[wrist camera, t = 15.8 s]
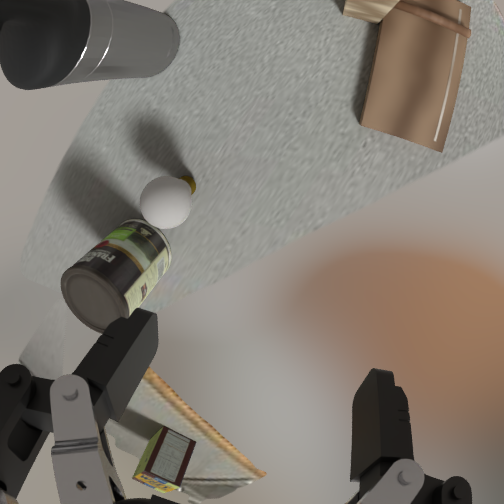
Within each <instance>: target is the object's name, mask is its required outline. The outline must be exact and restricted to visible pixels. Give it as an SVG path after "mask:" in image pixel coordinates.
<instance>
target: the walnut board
mask: <svg viewBox="0 0 504 504" xmlns="http://www.w3.org/2000/svg"><path fill="white" fill-rule="evenodd" d="M402 1H404V2H407V3H410V4H413V5H416V6H418V7H421V8H423V9H426V10H428V11H431V12H433V13H436V14H438V15H440V16H443V17H445V18H447V19H450V20H452V21H454V22H456V23H458V24H460V25H462V26H465V27H467V28H469V22H470V13H471V7H470V6H468V5H466V4H464V3H461V2H459V1H457V0H402ZM466 44H467V37H464V36H462V35H460V34H458V33H456V32H454V31H452V30H449V29H447V28H445V27H443V26H440V25H438V24H436V23H433V22H431V21H428V20H426V19H423V18H421V17H418V16H415V15H413V14H410V13H407V12H404V11H401V10H399V9H396V8H392V9H391V10H390V11H389V12H388V13H387V14H386V16H385V17H384V18H383V19H382V20H381V21H380V25H379V31H378V37H377V42H376V47H375V53H374V58H373V63H372V68H371V72H370V77H369V82H368V87H367V91H366V96H365V100H364V105H363V109H362V113H361V118H360V122H359V124H360V125H361V126H364V127H368V128H371V129H374V130H378V131H381V132H384V133H387V134H390V135H393V136H397V137H400V138H403V139H406V140H408V141H411V142H414V143H417V144H420V145H423V146H425V147H428V148H431V149H433V150H436V151H439V152H441V153H442V151H443V148H444V144H445V141H446V137H447V133H448V130H449V126H450V122H451V118H452V114H453V110H454V106H455V102H456V97H457V93H458V88H459V83H460V78H461V73H462V68H463V63H464V57H465V51H466Z"/></svg>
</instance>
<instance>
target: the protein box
mask: <svg viewBox="0 0 504 504" xmlns="http://www.w3.org/2000/svg"><path fill="white" fill-rule="evenodd" d="M195 444H196V442H195V441H193V440H191V439H189V438H187V437H185V436H183V435H181V434H179V433H177V432H175V431H173V430H171V429H169V428H167V427H165V426H163V427H162V428H161V429H160V430H159V431H158V432H157V433H156V434H155V435H154V436H153V437H152V438H151V439H150V440H149V443H148V445H147V447H146V449H145V451H144V453H143V455H142V458H141V460H140V462H139V464H138V466H137V469H136V471H135V473H134V475H133V477H132V478H133V479H134V480H137V481H138V482H140V483H143V484H144V485H147V486H149V487H151V488H153V489H155V490H157V491H160V492H162V493H166V492H169V491H172V490H174V489H177V488H180V486H181V483H182V480H183V477H184V474H185V472H186V469H187V466H188V464H189V461H190V458H191V455H192V453H193V450H194V447H195Z"/></svg>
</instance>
